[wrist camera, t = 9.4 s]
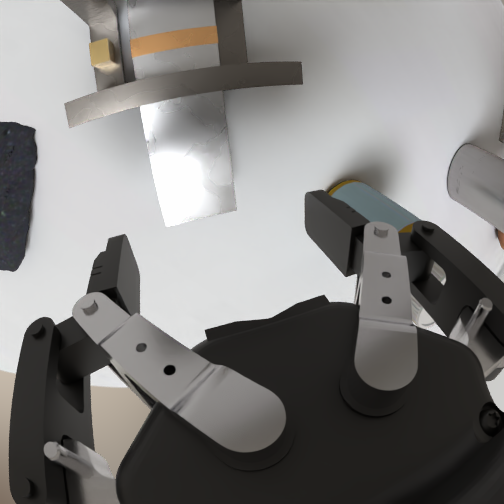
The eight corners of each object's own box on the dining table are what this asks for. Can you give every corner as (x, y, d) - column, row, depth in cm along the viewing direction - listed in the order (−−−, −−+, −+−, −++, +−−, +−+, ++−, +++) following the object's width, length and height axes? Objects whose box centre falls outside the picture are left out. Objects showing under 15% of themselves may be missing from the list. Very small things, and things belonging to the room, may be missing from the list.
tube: (128, -29, 12) (124, -54, 8) (195, -39, 13) (207, -65, 9) (162, 200, 23) (165, 227, 19) (221, 186, 24) (237, 210, 20)
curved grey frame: (236, -9, 15) (288, -54, 8) (245, 82, 20) (302, 84, 12) (91, 15, 13) (54, -25, 5) (103, 110, 17) (69, 128, 10)
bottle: (317, 246, 31) (404, 346, 19) (312, 187, 27) (426, 281, 15) (368, 226, 32) (460, 308, 20) (368, 171, 28) (483, 244, 16)
